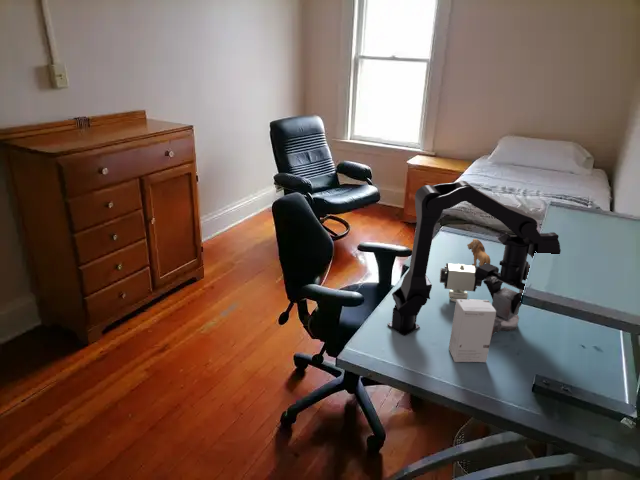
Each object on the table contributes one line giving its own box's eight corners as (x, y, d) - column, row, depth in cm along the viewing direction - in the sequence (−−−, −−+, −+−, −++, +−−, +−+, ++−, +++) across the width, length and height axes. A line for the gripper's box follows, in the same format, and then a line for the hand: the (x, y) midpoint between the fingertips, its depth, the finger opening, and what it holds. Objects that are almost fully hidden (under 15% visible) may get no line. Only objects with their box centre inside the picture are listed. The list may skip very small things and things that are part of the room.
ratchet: (482, 350, 120) (486, 331, 117) (458, 336, 125) (460, 317, 123) (522, 324, 130) (526, 306, 128) (498, 313, 136) (501, 295, 133)
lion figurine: (463, 260, 167) (466, 237, 164) (476, 259, 168) (480, 236, 165) (484, 280, 154) (488, 255, 150) (498, 278, 155) (503, 254, 151)
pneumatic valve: (478, 305, 139) (483, 270, 135) (437, 301, 141) (442, 266, 137) (476, 296, 144) (481, 261, 139) (437, 292, 146) (441, 258, 142)
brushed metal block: (507, 320, 126) (511, 300, 124) (490, 311, 130) (494, 292, 127) (518, 313, 129) (522, 294, 127) (501, 305, 133) (504, 287, 130)
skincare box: (454, 363, 115) (461, 311, 109) (447, 347, 121) (454, 298, 115) (488, 362, 115) (497, 311, 109) (480, 347, 121) (488, 297, 115)
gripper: (565, 262, 120) (552, 314, 127) (500, 239, 134) (492, 287, 140) (542, 274, 114) (530, 328, 120) (477, 249, 128) (469, 298, 134)
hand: (504, 309), depth 129 cm, fingers closed on brushed metal block, 5 cm apart
